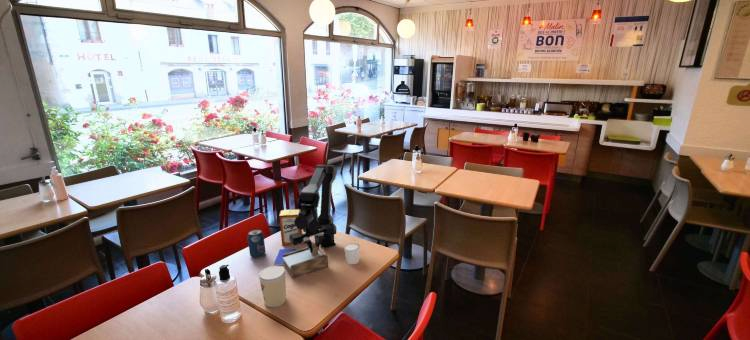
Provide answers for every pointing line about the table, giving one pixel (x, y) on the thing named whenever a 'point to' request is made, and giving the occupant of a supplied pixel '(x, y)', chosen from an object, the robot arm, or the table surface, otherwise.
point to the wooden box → (306, 264)
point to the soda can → (256, 243)
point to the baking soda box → (288, 225)
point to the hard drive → (280, 256)
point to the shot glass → (352, 253)
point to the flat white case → (302, 256)
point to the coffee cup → (273, 285)
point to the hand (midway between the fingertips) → (313, 251)
